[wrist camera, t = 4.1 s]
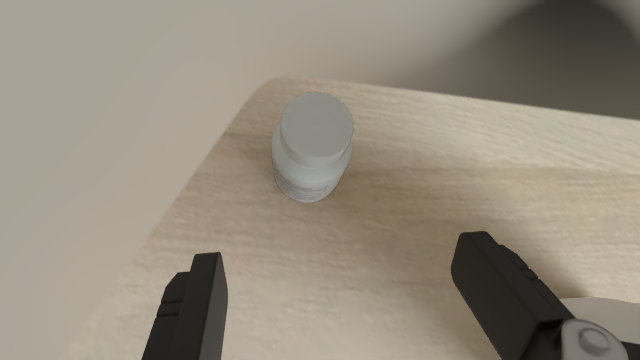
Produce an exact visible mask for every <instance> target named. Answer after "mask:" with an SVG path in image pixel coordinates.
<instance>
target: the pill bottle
mask: <svg viewBox="0 0 640 360" xmlns="http://www.w3.org/2000/svg"><path fill="white" fill-rule="evenodd" d="M352 135H353V119H352V116H351V114H350V112H349V110H348V109H347V107H346V106H345V104H343V103H342V102H341V101H340V100H339V99H337V98H336V97H334V96H332V95H330V94H327V93H322V92H308V93H305V94H302V95H299V96H297V97H296V98H294V99H293V100H292V101H291V102H290V103H288V105H287V106H286V108H285V109H284V111H283V114H282V117H281V121H280V122H279V124H278V125H277V127H276V129H275V131H274V133H273V137H272V144H271V148H272V160H273V169H274V175H275V179H276V182H277V184H278V186H279V188H280V189H281V190H282V192H283V193H284V194H285V195H287V196H288V197H290V198H291V199H293V200H296V201H299V202H305V203H309V202H316V201H319V200H321V199H323V198H325V197H326V196H328V195H329V194H330V193H331V192H332V191H333V190H334V188H335V187H336V185H337V183H338V181H339V180H340V178H341V176H342V174H343V173H344V171H345V169H346V168H347V166H348V164H349V162H350V159H351V155H352Z"/></svg>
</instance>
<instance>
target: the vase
mask: <svg viewBox="0 0 640 360" xmlns="http://www.w3.org/2000/svg"><path fill="white" fill-rule="evenodd" d="M559 300H560V301H561V302H562V303H563V304H564V305H565V307H566V308H567V309H568V310H569V311H570V312H571V313H572V314H573V315H574V316H575V317H576V318H577V319H583V320H587V321H590V322H593V323H595V324H597V325H599V326H601V327H603V328H605V329H606V330H608V331H609V332H610V333H612V334H613V335H614V336H615V337H616V338H617V339H618V340H619V341H624V342H630V343H635V344H640V304H638V303H630V302H625V301H621V300H615V299H608V298H598V297H581V298H566V299H559Z"/></svg>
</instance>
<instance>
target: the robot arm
mask: <svg viewBox="0 0 640 360" xmlns="http://www.w3.org/2000/svg"><path fill="white" fill-rule="evenodd" d="M451 275H452V279H453V282H454V284H455V285H456V287H457V289H458V290H459V292H460V293H461V295H462V297H463V298H464V300H465V301H466V303H467V305H468V306H469V308H470V309H471V311H472V313H473V314H474V316H475V317H476V319H477V321H478V322H479V324H480V325H481V327H482V329H483V330H484V332H485V333H486V335H487V337H488V338H489V340H490V341H491V343H492V345H493V346H494V348H495V349H496V351H497V353H498V354H499V356H500V357H501V359H502V360H640V344H635V343H630V342H624V341H619V340H618V339H617V338H616V337H615V336H614V335H613V334H612V333H610V332H609V331H608V330H606V329H605V328H603V327H601V326H599V325H597V324H595V323H593V322H590V321H587V320H583V319H577V318H576V317H575V316H574V315H573V314H572V313H571V312H570V311H569V310H568V309H567V308H566V307H565V305H564V304H563V303H562V302H561V301H560V300H559V299H558V298H557V297H556V296H555V295H554V294H553V293H552V291H551V290H550V289H549V288H548V287H547V286H546V285H545V284H544V283H543V282H542V281H541V280H540V279H538V276H537V275H536V274H535V273H534V272H533V271H532V270H531V269H529V268H528V266H527V264H526V263H525V262H524V261H523V260H522V259H521V258H520V257H519V256H518V255H517V254H516V253H514V252H513V251H511V250H510V249H508V248H506V247H505V246H503V245H498V244H497V242H496V241H495V240H494V239H493V238H492V237H491V236H490V235H489V234H488V233H487V232H485V231H476V232H464V233H461V234H460V236H459V238H458V242H457V246H456V249H455V253H454V257H453V260H452V264H451ZM227 305H228V290H227V283H226V277H225V272H224V266H223V261H222V256H221V253H220V252H215V253H202V254H195V256H194V259H193V262H192V266H191V270H190V272H180V273H177V274H176V275H175V276H174V278H173V279H172V280H171V281H170V282H169V284H168V285H167V286H166V288H165V291H164V294H163V297H162V300H161V305H160V306H159V309H158V312H157V318H155V321H154V324H153V327H152V330H151V333H150V336H149V339H148V342H147V345H146V348H145V351H144V354H143V357H142V359H141V360H221V354H222V346H223V338H224V330H225V322H226V314H227Z"/></svg>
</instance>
